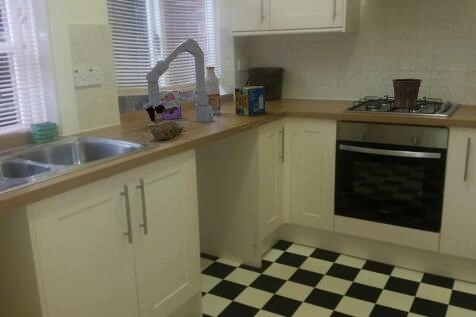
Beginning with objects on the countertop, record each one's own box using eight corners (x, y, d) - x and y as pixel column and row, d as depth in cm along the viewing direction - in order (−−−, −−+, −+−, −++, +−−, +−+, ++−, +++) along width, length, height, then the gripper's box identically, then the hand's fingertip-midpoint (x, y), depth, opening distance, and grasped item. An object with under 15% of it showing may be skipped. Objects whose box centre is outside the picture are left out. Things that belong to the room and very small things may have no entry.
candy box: (157, 121, 253) (155, 91, 249) (156, 119, 258) (154, 90, 254) (182, 119, 256) (180, 90, 252) (180, 117, 262) (178, 89, 258)
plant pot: (424, 108, 256) (426, 80, 252) (396, 109, 256) (397, 81, 252) (414, 105, 272) (415, 78, 268) (387, 106, 272) (388, 79, 268)
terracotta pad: (174, 121, 244) (174, 120, 244) (167, 122, 240) (167, 122, 240) (166, 120, 248) (166, 120, 248) (158, 122, 243) (158, 121, 243)
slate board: (191, 123, 241) (191, 121, 241) (168, 128, 226) (168, 127, 226) (168, 121, 250) (168, 120, 249) (145, 126, 235) (145, 125, 235)
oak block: (162, 121, 238) (161, 113, 237) (156, 123, 234) (155, 114, 233) (156, 121, 240) (155, 113, 239) (150, 122, 236) (149, 114, 235)
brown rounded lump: (167, 135, 216) (139, 134, 199) (170, 119, 215) (142, 117, 198) (189, 142, 210) (161, 142, 193) (192, 126, 209) (165, 124, 192)
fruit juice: (202, 113, 273) (199, 67, 266) (215, 112, 278) (213, 66, 271) (210, 115, 265) (207, 67, 258) (223, 113, 270) (221, 66, 263)
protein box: (235, 114, 264) (234, 88, 261) (253, 111, 275) (252, 85, 271) (248, 116, 257) (247, 88, 254) (266, 112, 268) (265, 86, 264)
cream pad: (164, 123, 238) (164, 122, 238) (156, 125, 233) (156, 124, 233) (156, 122, 241) (156, 122, 241) (148, 124, 236) (148, 124, 236)
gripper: (157, 92, 241) (160, 117, 245) (138, 95, 230) (140, 122, 233) (167, 93, 238) (169, 118, 241) (148, 96, 226) (150, 122, 229)
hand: (156, 120), depth 237 cm, fingers closed on oak block, 4 cm apart
